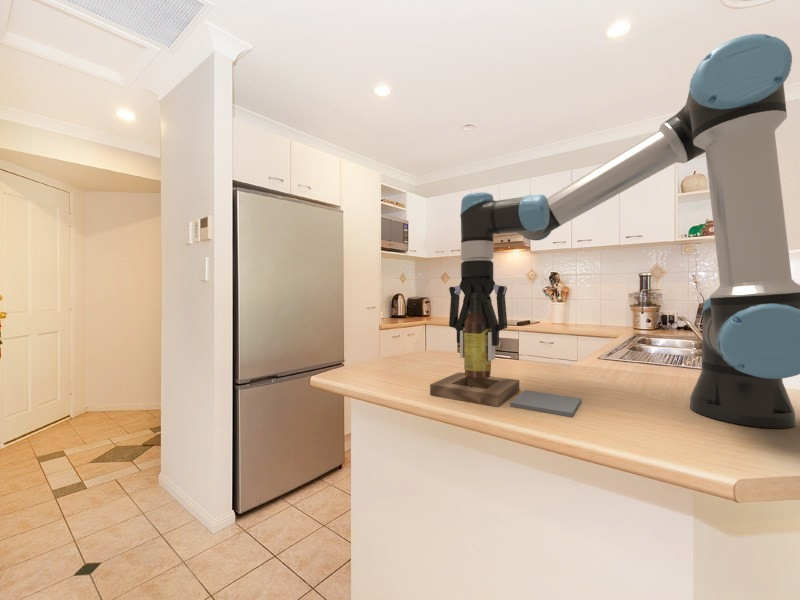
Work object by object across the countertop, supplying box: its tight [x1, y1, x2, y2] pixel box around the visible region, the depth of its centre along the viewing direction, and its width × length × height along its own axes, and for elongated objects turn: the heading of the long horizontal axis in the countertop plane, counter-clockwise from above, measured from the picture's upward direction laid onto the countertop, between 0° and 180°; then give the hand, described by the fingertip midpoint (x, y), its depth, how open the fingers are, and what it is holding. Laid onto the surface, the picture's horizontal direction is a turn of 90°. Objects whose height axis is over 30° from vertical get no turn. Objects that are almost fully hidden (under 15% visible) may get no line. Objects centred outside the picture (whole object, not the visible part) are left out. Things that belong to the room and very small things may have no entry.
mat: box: [509, 389, 582, 418], centre depth 79 cm, size 12×12×1 cm
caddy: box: [429, 371, 520, 408], centre depth 88 cm, size 16×16×2 cm
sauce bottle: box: [463, 293, 492, 379], centre depth 88 cm, size 7×6×20 cm
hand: (477, 358), depth 88 cm, fingers closed on sauce bottle, 6 cm apart
